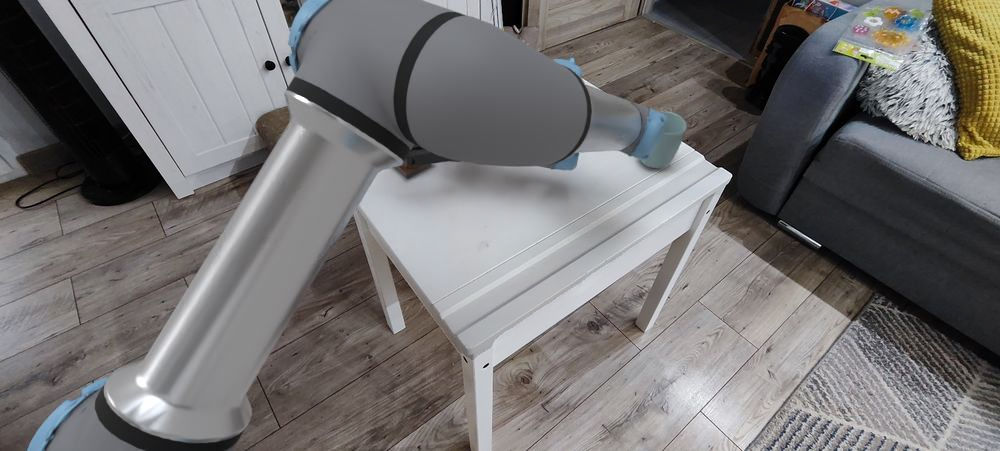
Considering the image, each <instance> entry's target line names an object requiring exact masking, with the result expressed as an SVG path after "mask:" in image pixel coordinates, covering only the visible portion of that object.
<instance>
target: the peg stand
mask: <svg viewBox="0 0 1000 451" xmlns="http://www.w3.org/2000/svg"><path fill="white" fill-rule="evenodd" d="M431 167H432V164H426V165H420V166H418V167H416V168H410V169H408V168H407V169H406V168H402V167H400V166H397V167H393V168H394V169H395V170H397V171H398V173H400V174H401V175H402V176H403V177H404V178H406V180H408V179H409V178H411V177H414V176H416V175H417V174H420V173H422V172H424V171H426V170H427V169H429V168H431Z"/></svg>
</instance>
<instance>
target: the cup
mask: <svg viewBox="0 0 1000 451" xmlns="http://www.w3.org/2000/svg"><path fill="white" fill-rule="evenodd" d="M656 111H657V110H656ZM657 112H660V113H662V114H664V115H665V116H666V118H667V126H666V129H665V132H664V135H663V137H662V139H661V141H660V143H659V145H658V147H657V149H656V150H655V152H654V153H653V155H652V156H651V157H650V158H649V159H647V160H641V159H639V161H640V162H641V163H642V164H643V165H645V166H646V167H648V168H652V169H662V168H665V167H667V166H669V165H670V164H671V163H672V162H673V160H674V159H675V157H676V155H677V153H678V151H679V149H680V146H681V144H682V141H683V139H684V136H685V134H686V131H687V122H686V121H685V119H684V118H683V117H682V116H681V115H679V114H677V113H675V112H671V111H666V110H659V111H657Z"/></svg>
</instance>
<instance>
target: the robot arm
mask: <svg viewBox="0 0 1000 451" xmlns="http://www.w3.org/2000/svg"><path fill="white" fill-rule="evenodd" d="M287 44H288V46H289V47H290V50H291V53H289V54H288V60H289V64H290V67H291V69H292V72H293V74H294V76H293V78H292V79H291V81H290V83H289V84H288V86H287V88H286V89H285V91H284V92H283V95H284V99H285V103H286V106H287V110H288V113H289V123H288V124H287V126H286V127H285V129H284V130H283V132H282V133H281V136H280V137H279V139H278V140H277V142H276V144H275V145H274V146H273V148H272V150H271V152H270V153H269V155H268V156H267V158H266V160H265V161H264V163H263V164H262V166H261V168H260V169H259V171H258V173H257V175H256V176H255V178H254V179H253V181H252V183H251V185H250V186H249V187H248V189H247V191H246V192H245V194H244V195H243V197H242V199H241V201H240V202H239V204H238V206H237V207H236V209H235V210H234V211H233V213H232V215H231V217H230V218H229V220H228V222H227V223H226V225H225V227H224V228H223V230H222V232H221V233H220V235H219V236H218V237H217V240H216V241H215V243H214V245H213V246H212V248H211V249H210V251H209V253H208V254H207V256H206V257H205V259H204V261H203V262H202V264H201V265H200V267H199V269H198V270H197V272H196V273H195V275H194V277H193V279H192V281H191V282H190V284H189V286H188V287H187V288H186V290H185V292H184V293H183V295H182V297H181V298H180V300H179V302H178V303H177V305H176V306H175V308H174V310H173V311H172V313H171V314H170V316H169V318H168V319H167V321H166V323H165V324H164V325H163V328H162V329H161V331H160V333H159V334H158V336H157V338H156V339H155V340H154V342H153V344H152V345H151V347H150V349H149V350H148V352H147V354H146V355H145V356H144V358H143V359H139V360H136V361H133V362H129V363H126V364H123V365H121V366H119V367H117V368H116V370H114V371H113V372H112V373H111V374H110V375H109V376H106V377H103V378H100V379H99V380H96V381H94V382H92V383H90V384H88V385H87V386H85V387H83V388H82V389H81V395H80V396H79V397H77V398H76V399H74V400H72V399H66V400H65V401H64V402H62V403H61V404H60V405H59V406H58V407H56V409H55V410H53V411H52V412H51V413H50V415H49V416H47V418H46V419H45V420H44V421H43V422H42V424H41V425H40V426H39V428H38V429H37V430H36V432H35V434H34V435H33V437H32V438H31V441H30V443H29V444H28V447H27V449H26V451H235V447H236V445H237V444H238V443H239V441H240V439H241V437H242V435H243V433H244V432H245V431H246V429H247V427H248V425H249V424H250V421H251V419H252V416H253V410H252V404H251V403H250V400H249V398H248V395H247V393H248V391H249V390H250V388H251V387H252V385H253V383H254V382H255V381H256V378H257V377H258V375H259V374H260V372H261V370H262V369H263V366H264V365H265V363H266V361H267V360H268V358H269V356H270V355H271V353H272V351H273V350H274V348H275V346H276V345H277V343H278V342H279V340H280V338H281V337H282V334H283V333H284V332H285V330H286V328H287V326H288V324H289V323H290V321H291V320H292V318H293V316H294V315H295V313H296V311H297V309H298V308H299V307H300V304H301V303H302V301H303V300H304V298H305V296H306V295H307V292H308V291H309V289H310V288H311V286H312V284H313V282H314V281H315V279H317V278H316V277H317V276H318V274H319V273H320V271H321V269H322V267H323V266H324V264H325V262H326V261H327V259H328V258H329V256H330V254H331V253H332V251H333V249H334V247H335V246H336V244H337V242H338V241H339V239H340V238H341V236H342V233H343V232H344V231H345V229H346V227H347V226H348V224H349V222H350V220H351V219H352V217H353V216H354V214H355V212H356V211H357V209H358V207H359V206H360V204H361V202H362V201H363V199H364V197H365V195H366V194H367V192H368V191H369V189H370V187H371V186H372V183H373V182H374V180H375V179H376V177H377V175H378V174H379V173H381V172H382V171H384V170H389V169H392V168H394V167H397V166H401V165H402V164H403V162H404V161H405V159H406V161H407V166H409V167H411V166H419V165H426V164H431V165H432V164H439V163H447V162H452V163H467V164H473V165H480V166H493V167H514V168H515V167H518V168H519V167H526V168H527V167H530V168H531V167H540V168H543V169H545V168H546V169H550V170H556V171H557V170H559V171H574V170H575V169H576V168H577V166H578V161H579V156H580V153H582V154H583V153H597V152H621V153H623V154H625V155H626V156H628V157H633V158H636V159H639V160H640V159H641V160H647V159H649V158H650V157H651V156H652V155H653V153H654V152H655V150H656V149H657V147H658V145H659V143H660V141H661V139H662V137H663V135H664V132H665V129H666V126H667V118H666V116H665V115H664V114H662V113H660V112H657V110H655V109H653V107H649V106H644V105H642V104H640V103H637V102H634V101H631V100H628V99H626V98H623V97H619V96H617V95H614V94H612V93H608V92H606V91H604V90H601V89H599V88H596V87H594V86H591V85H588V84H586V83H585V81H584V79H583V72H582V69H581V67H580V66H579V65H576V63H575V61H574V62H572V61H569V60H570V59H563V58H552V57H549V56H547V55H546V54H544V53H543V52H540V51H539V50H538V49H536V48H534V47H532V46H531V45H529V44H527V43H526V42H524V41H523V40H521V39H519V38H517V37H516V36H514V35H513V34H510V33H509V32H507V31H506V30H504V29H502V28H500V27H498V26H497V25H494V24H493V23H490V22H488V21H485V20H483V19H480V18H477V17H475V16H472V15H471V16H470V15H466V14H463V13H461V12H458V11H455V10H453V9H449V8H447V7H444V6H440V5H438V4H435V3H431V2H428V1H426V0H306V1H305V2H304V3H303V4H302V6H301V7H300V8H299V9H298V11H297V13H296V14H295V17H294V19H293V21H292V23H291V27H290V31H289V35H288V43H287ZM413 150H415V151H413ZM641 160H640V161H641Z"/></svg>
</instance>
